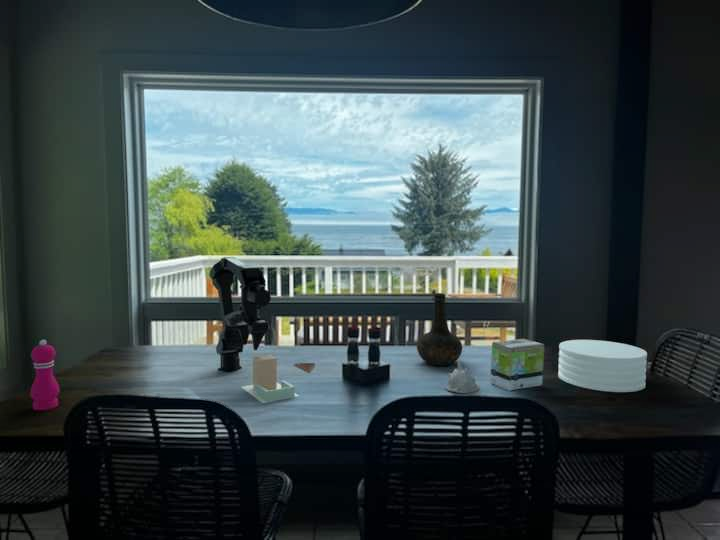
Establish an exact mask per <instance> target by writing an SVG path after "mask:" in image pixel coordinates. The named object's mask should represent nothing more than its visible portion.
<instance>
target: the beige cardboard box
mask: <svg viewBox="0 0 720 540" xmlns="http://www.w3.org/2000/svg"><path fill="white" fill-rule="evenodd" d="M277 374H278V373H277V357H275V356H273V355H271V354H268V355H260V356H259V355H258V356H253V357H252V385H253V388H254V389H255V390H256V385H261V386H262V387H264V388H265V389H267V390H273V389H277V383H278V382H277V377H278V376H277Z"/></svg>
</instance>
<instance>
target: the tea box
mask: <svg viewBox="0 0 720 540" xmlns="http://www.w3.org/2000/svg"><path fill="white" fill-rule="evenodd" d="M544 357H545V344H544V343H541V342H538V341H537V342H536V341H533V340H529V339H527V338H526V339H525V338H519V339H518V338H517V339H510V340H499V341H492V345H491V358H490V359H491V360H490V374H489V375H490V378H489V379H490V380H489V381H490V384H491V385H494V386H496V387H499V388H502V389H504V390H507V391H513V390H520V389H526V388H533V387H540V386H543V379H544V378H543V375H544V374H543V373H544V359H545V358H544Z"/></svg>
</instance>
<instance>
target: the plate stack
mask: <svg viewBox="0 0 720 540" xmlns="http://www.w3.org/2000/svg"><path fill="white" fill-rule="evenodd" d="M558 345H559V346H558V349H559V351H558V356H559V357H558V365H557V366H558V372H557V373H558V374H557V377H558V378H559V379H560V380H561V381H563V382H564V383H565V382H566V383H568V384H571V385H573V386H576V387H580V388H585V389H588V390H595V391H600V392H610V393H630V392H631V393H632V392H638V391H642V390H643V389H645V388H646V383H647V382H646V379H647V375H646V373H647V364H648V363H647V361H648V360H647V359H648V358H647V357H648V352H647V351H646V350H645V349H644V348H643V349H642V348H640V347H638V346H634V345H631V344H627V343H621V342H616V341H615V342H614V341H608V340H598V339H597V340H596V339H570V340H565V341H562V342H560V343H559V344H558Z"/></svg>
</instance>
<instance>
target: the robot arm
mask: <svg viewBox="0 0 720 540" xmlns="http://www.w3.org/2000/svg"><path fill="white" fill-rule="evenodd" d="M209 271H210V272H209V278H210V280H211V282H212V285H213V287H214V288H215V289H216V290H217V294H218V295H217V296H218V301H219V303H218V304H219V308H220V318H221V324H222V329H221V332H220V333H219V340H218V342H217V344H216V346H215V351H216V354H217V355H219V356H220V357H219V358H220V367H218V368H217V370H218V371H224V372H230V373H231V372H234V371H237V370H239V369H242V368H243V366H241V365H240V361H241V360H240V358H241V357H240V356H239V355H240V353H244V346H246V345H247V343H248V341H249V338H250V337H249V335H250V336H251V340H252V348H253V351H257V350H258V349H259V346H260V344H261V343H262V340H263V338H264V336H265V335H266V333H268V331H270V323H268V321H265V320H262V319H261V317H260V316H259V310H260V309H261V307H262V308H263V307H266V306H268V305H269V304H270V303H271V299H272V298H271V294H270V292H269V291H268V290H267V289H266V286H267V285H266V279H265V277H264V275H263V272H262V270H261V268H260V266H258V265H249V264H246V263H244V262H242V261H240V260H239V259H237V258H236V257H235V256H223V257H222V258H220V260H219V261H218V262H216V263H214V264H213V265H212V267H211V269H210V270H209ZM235 276H236V279H237V280H238V281H239V283H240V285H239V289H240V297H241V298H240V299H241V300H240V302H241V304H239V305H238V308H237V310H236V311H234V310H235V309H234V303H233V297H232V296H233V295H232V289H231V288H232V287H233V286H232V285H233V283H234V281H235V280H234V279H235V278H234V277H235Z"/></svg>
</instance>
